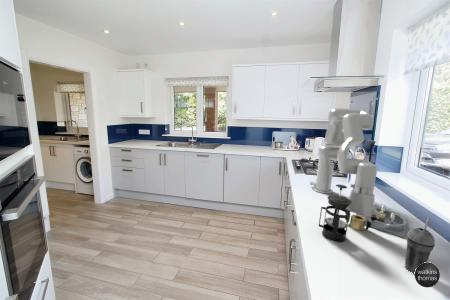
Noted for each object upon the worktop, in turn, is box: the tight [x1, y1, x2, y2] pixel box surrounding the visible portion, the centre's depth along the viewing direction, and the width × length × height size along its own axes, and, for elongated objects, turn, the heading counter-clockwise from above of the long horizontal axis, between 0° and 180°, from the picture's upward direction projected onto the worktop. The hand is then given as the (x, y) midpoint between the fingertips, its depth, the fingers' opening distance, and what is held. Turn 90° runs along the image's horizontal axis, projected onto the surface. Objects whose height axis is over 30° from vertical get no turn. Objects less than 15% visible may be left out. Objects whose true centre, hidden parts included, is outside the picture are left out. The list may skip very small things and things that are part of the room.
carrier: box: [355, 204, 408, 239], centre depth 109 cm, size 20×20×7 cm
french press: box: [318, 184, 351, 243], centre depth 92 cm, size 12×9×23 cm
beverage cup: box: [404, 216, 436, 275], centre depth 73 cm, size 7×7×20 cm
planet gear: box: [349, 214, 366, 231], centre depth 102 cm, size 6×6×5 cm
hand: (357, 224), depth 102 cm, fingers open, 7 cm apart
